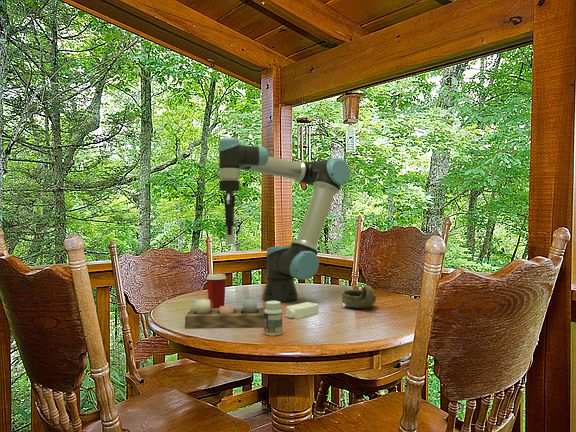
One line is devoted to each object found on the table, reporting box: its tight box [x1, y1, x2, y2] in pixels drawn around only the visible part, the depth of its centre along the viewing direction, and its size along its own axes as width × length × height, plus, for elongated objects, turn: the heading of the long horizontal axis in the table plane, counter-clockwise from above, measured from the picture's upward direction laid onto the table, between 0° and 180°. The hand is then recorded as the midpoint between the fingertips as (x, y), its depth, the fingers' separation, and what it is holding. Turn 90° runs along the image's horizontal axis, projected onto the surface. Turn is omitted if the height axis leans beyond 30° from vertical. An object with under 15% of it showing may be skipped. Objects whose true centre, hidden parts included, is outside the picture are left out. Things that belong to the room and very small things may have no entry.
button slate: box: [242, 298, 258, 313], centre depth 157 cm, size 5×5×4 cm
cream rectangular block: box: [285, 301, 320, 320], centre depth 167 cm, size 6×13×4 cm, turn 138°
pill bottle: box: [263, 301, 283, 337], centre depth 143 cm, size 6×6×10 cm
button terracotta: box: [220, 305, 235, 314], centre depth 157 cm, size 5×5×4 cm
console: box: [184, 307, 266, 329], centre depth 157 cm, size 26×12×4 cm, turn 92°
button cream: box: [195, 298, 210, 314], centre depth 156 cm, size 5×5×4 cm
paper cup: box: [205, 273, 227, 308], centre depth 176 cm, size 8×8×14 cm
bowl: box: [341, 285, 377, 309], centre depth 179 cm, size 14×18×10 cm
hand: (230, 243), depth 170 cm, fingers closed
